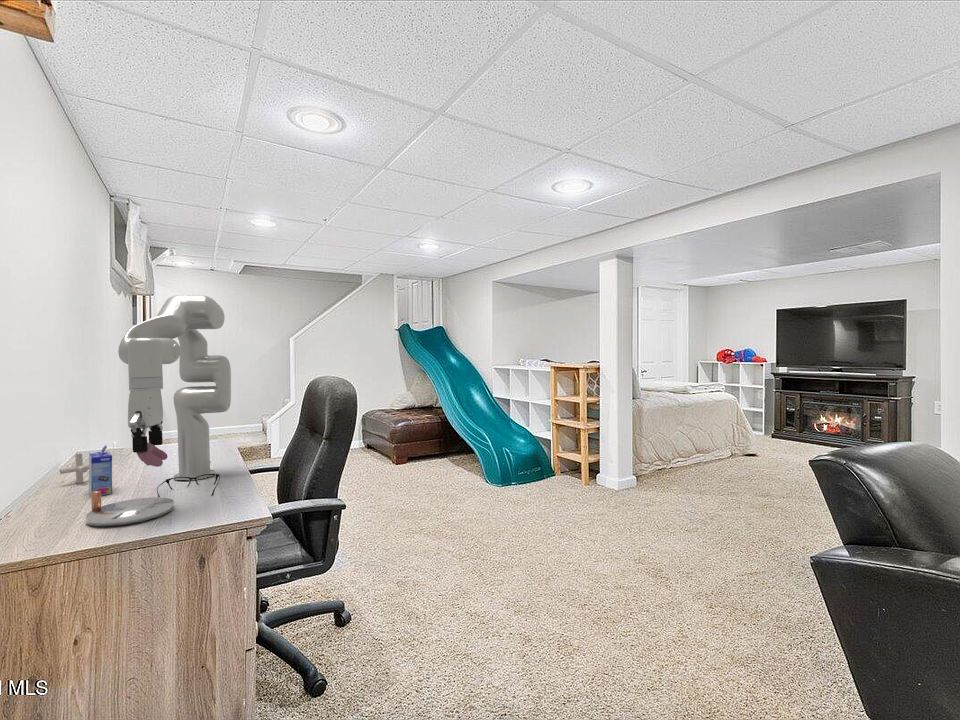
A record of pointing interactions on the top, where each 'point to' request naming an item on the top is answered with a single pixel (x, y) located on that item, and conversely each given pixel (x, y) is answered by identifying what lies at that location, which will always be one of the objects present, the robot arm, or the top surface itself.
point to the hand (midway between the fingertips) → (148, 448)
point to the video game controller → (152, 456)
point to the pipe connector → (77, 468)
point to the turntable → (126, 510)
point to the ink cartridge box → (100, 472)
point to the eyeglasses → (190, 481)
